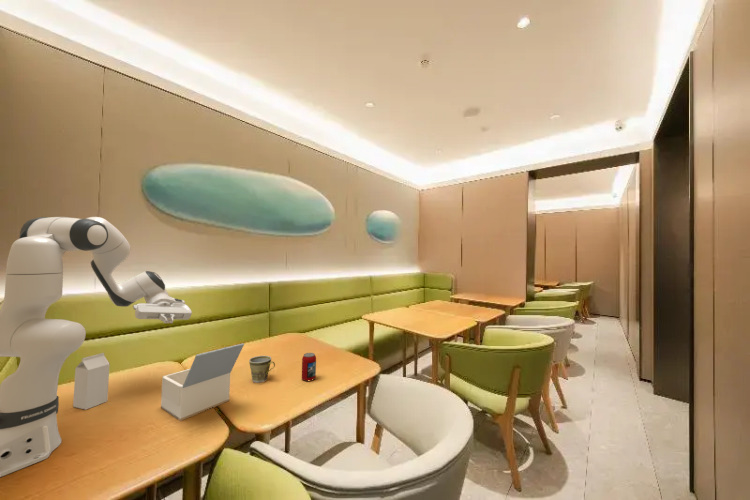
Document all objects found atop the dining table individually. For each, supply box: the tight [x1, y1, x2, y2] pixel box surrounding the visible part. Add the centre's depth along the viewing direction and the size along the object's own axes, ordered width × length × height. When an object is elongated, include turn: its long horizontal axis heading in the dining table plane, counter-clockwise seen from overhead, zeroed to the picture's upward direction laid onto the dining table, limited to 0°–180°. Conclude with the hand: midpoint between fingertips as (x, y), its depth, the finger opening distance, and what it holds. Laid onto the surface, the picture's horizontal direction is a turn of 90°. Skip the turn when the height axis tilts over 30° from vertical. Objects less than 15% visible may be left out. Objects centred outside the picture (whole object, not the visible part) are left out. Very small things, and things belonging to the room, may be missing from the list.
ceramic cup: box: [248, 355, 276, 384], centre depth 138 cm, size 13×10×10 cm
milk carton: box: [72, 352, 110, 410], centre depth 112 cm, size 7×7×19 cm
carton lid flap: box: [183, 342, 245, 388], centre depth 107 cm, size 16×18×1 cm
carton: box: [160, 368, 231, 422], centre depth 114 cm, size 16×19×12 cm
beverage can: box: [301, 352, 317, 382], centre depth 140 cm, size 7×7×12 cm
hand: (169, 321), depth 120 cm, fingers closed
